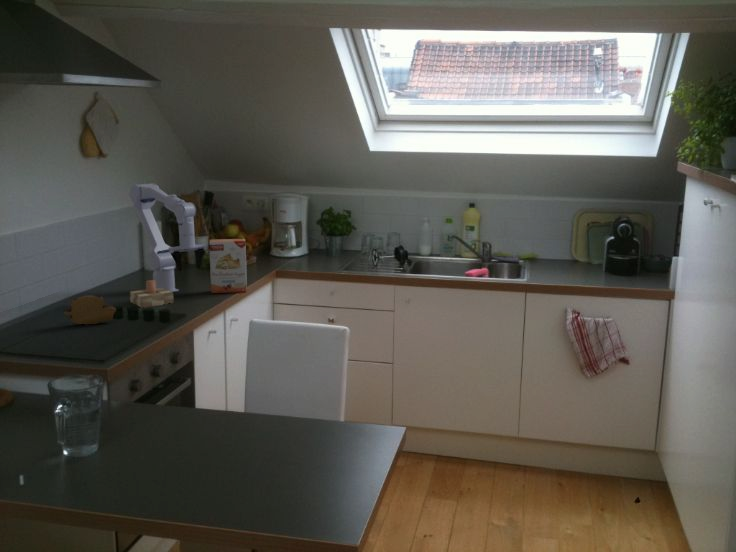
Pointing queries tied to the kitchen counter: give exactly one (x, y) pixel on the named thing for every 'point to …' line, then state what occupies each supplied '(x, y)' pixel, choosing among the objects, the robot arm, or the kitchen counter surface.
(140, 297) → the socket block
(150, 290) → the peg
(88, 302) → the wooden carving
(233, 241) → the cracker box
